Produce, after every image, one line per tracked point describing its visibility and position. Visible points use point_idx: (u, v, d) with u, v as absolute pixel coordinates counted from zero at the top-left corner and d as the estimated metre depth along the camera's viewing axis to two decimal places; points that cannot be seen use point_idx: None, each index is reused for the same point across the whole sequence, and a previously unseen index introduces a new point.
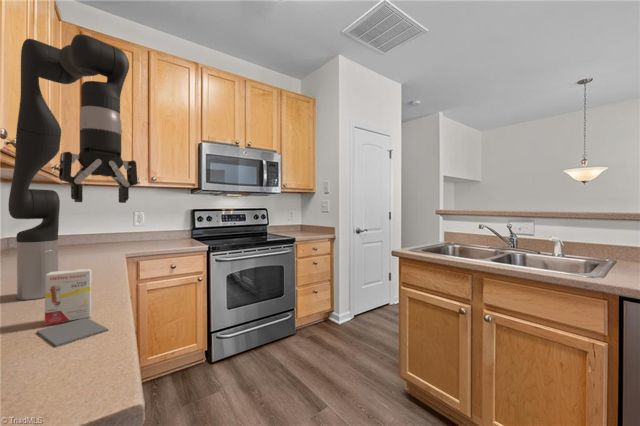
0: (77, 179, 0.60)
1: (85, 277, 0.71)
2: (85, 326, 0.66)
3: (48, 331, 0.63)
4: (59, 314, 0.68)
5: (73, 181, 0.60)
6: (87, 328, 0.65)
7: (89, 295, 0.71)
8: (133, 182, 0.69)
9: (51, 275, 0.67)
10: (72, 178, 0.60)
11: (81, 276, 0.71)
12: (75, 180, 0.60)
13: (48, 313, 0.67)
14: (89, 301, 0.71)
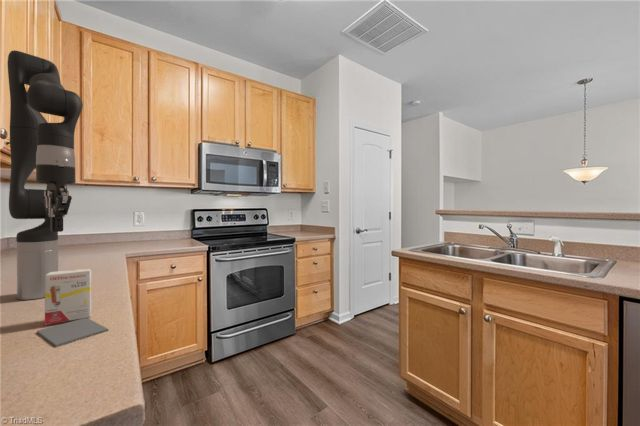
0: None
1: (85, 277, 0.71)
2: (85, 326, 0.66)
3: (48, 331, 0.63)
4: (59, 314, 0.68)
5: (63, 215, 0.74)
6: (87, 328, 0.65)
7: (89, 295, 0.71)
8: None
9: (51, 275, 0.67)
10: None
11: (81, 276, 0.70)
12: None
13: (48, 313, 0.67)
14: (89, 301, 0.71)
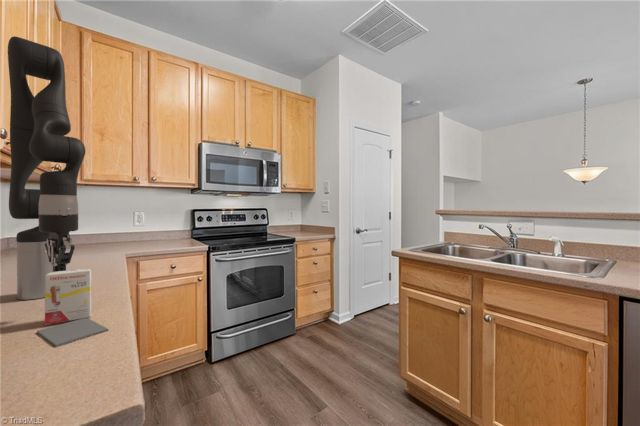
0: None
1: (85, 277, 0.71)
2: (85, 326, 0.66)
3: (48, 331, 0.63)
4: (59, 314, 0.68)
5: None
6: (87, 328, 0.65)
7: (89, 295, 0.71)
8: None
9: (51, 275, 0.67)
10: None
11: (81, 276, 0.70)
12: None
13: (48, 313, 0.67)
14: (89, 301, 0.71)
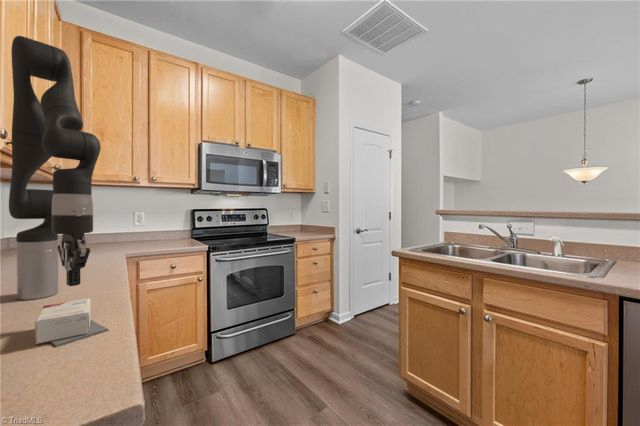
0: None
1: None
2: None
3: None
4: None
5: None
6: None
7: None
8: None
9: None
10: None
11: None
12: None
13: None
14: None
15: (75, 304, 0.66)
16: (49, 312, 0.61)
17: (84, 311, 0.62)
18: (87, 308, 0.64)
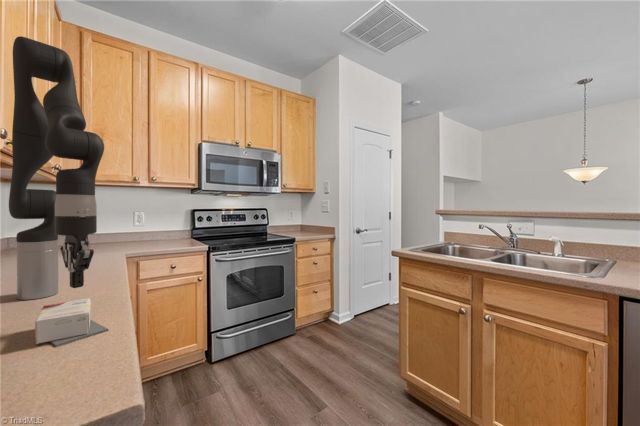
0: None
1: None
2: None
3: None
4: None
5: None
6: None
7: None
8: None
9: None
10: None
11: None
12: None
13: None
14: None
15: (75, 304, 0.66)
16: (49, 312, 0.61)
17: (84, 311, 0.62)
18: (87, 308, 0.64)
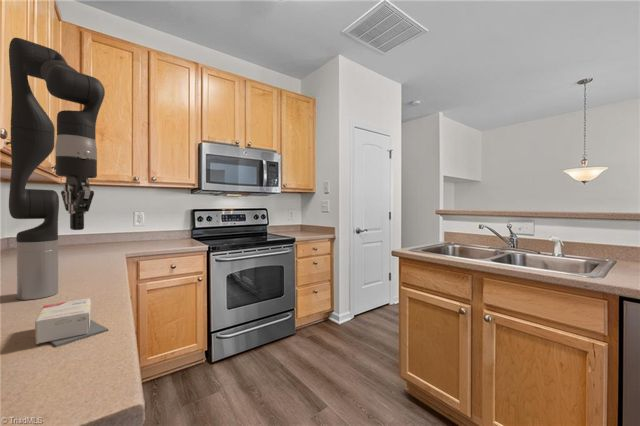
0: None
1: None
2: None
3: None
4: None
5: None
6: None
7: None
8: None
9: None
10: None
11: None
12: None
13: None
14: None
15: (75, 304, 0.66)
16: (49, 312, 0.61)
17: (84, 311, 0.62)
18: (87, 308, 0.64)
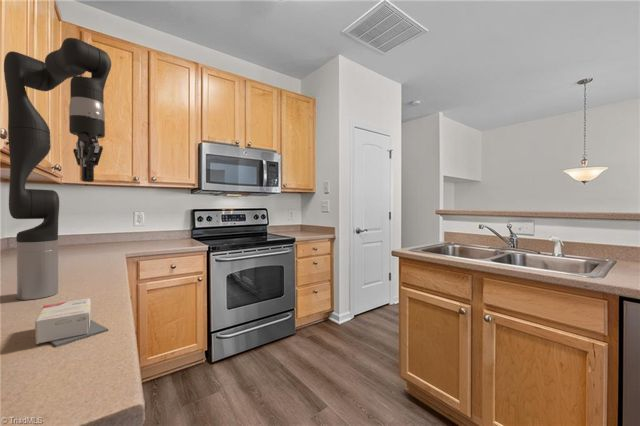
0: None
1: None
2: None
3: None
4: None
5: (93, 165, 0.78)
6: None
7: None
8: None
9: None
10: None
11: None
12: (94, 165, 0.78)
13: None
14: None
15: (75, 304, 0.66)
16: (49, 312, 0.61)
17: (84, 311, 0.62)
18: (87, 308, 0.64)
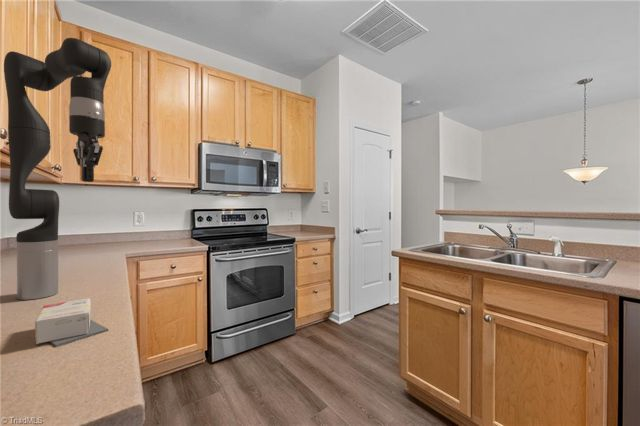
0: None
1: None
2: None
3: None
4: None
5: None
6: None
7: None
8: None
9: None
10: None
11: None
12: (94, 165, 0.78)
13: None
14: None
15: (75, 304, 0.66)
16: (49, 312, 0.61)
17: (84, 311, 0.62)
18: (87, 308, 0.64)
